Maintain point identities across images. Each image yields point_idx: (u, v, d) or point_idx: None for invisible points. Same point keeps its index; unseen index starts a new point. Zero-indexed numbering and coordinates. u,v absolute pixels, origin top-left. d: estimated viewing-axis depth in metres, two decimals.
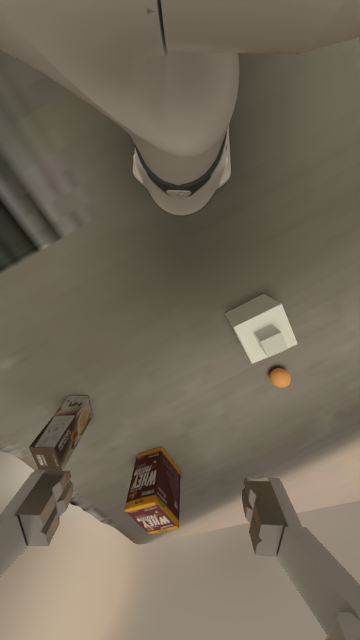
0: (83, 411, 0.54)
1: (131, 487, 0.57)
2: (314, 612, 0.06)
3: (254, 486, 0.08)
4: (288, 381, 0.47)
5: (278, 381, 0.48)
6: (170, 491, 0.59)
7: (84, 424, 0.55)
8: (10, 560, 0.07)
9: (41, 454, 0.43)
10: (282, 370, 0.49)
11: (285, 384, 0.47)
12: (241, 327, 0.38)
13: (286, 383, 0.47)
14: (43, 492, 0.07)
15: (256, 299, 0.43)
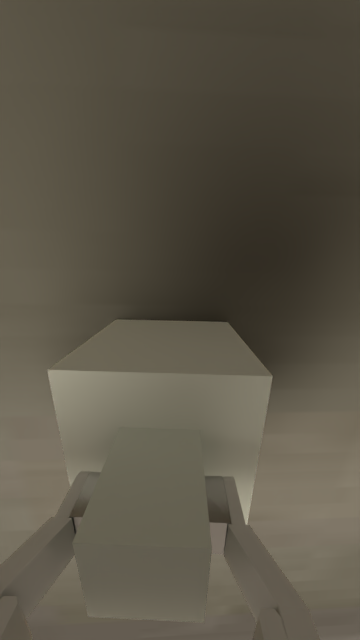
0: None
1: None
2: (251, 609, 0.06)
3: (206, 484, 0.08)
4: None
5: None
6: None
7: None
8: (65, 561, 0.07)
9: None
10: None
11: None
12: (80, 387, 0.09)
13: None
14: None
15: (203, 325, 0.15)
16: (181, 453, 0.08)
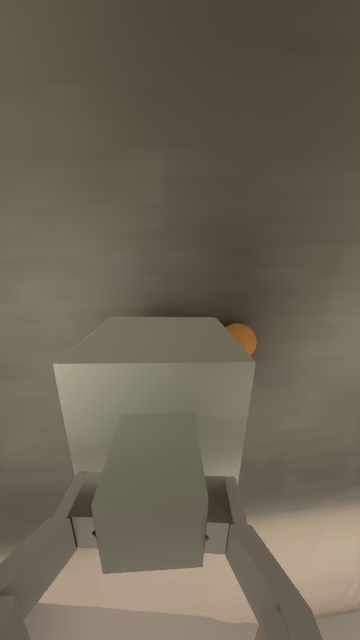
0: None
1: None
2: (253, 609, 0.06)
3: (208, 484, 0.08)
4: None
5: None
6: None
7: None
8: (63, 562, 0.07)
9: None
10: (225, 327, 0.26)
11: None
12: (84, 378, 0.09)
13: None
14: (91, 494, 0.07)
15: (193, 320, 0.17)
16: (179, 432, 0.09)
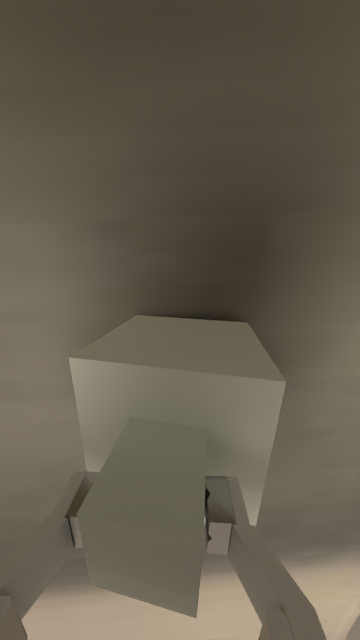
0: None
1: None
2: (256, 609, 0.06)
3: (210, 484, 0.08)
4: None
5: None
6: None
7: None
8: (61, 562, 0.07)
9: None
10: None
11: None
12: (96, 375, 0.09)
13: None
14: None
15: (221, 324, 0.15)
16: (185, 449, 0.08)
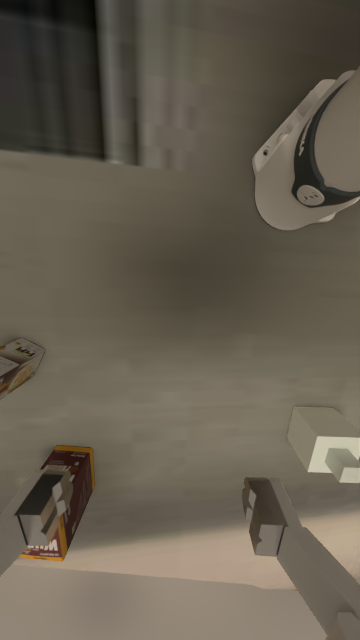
0: (30, 364, 0.41)
1: None
2: (314, 612, 0.06)
3: (254, 486, 0.08)
4: None
5: None
6: (75, 508, 0.46)
7: (21, 380, 0.42)
8: (11, 559, 0.07)
9: None
10: None
11: None
12: (323, 439, 0.39)
13: None
14: (43, 492, 0.07)
15: (328, 411, 0.46)
16: (348, 454, 0.38)
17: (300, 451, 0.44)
